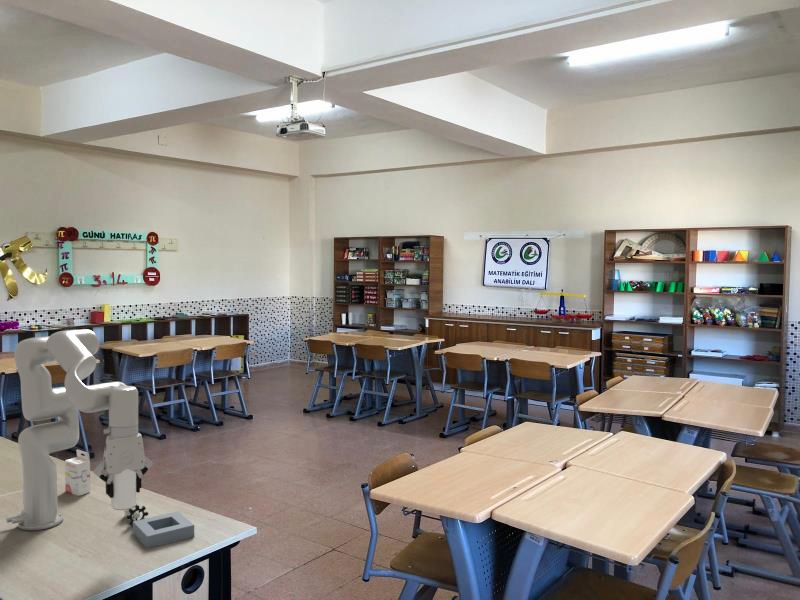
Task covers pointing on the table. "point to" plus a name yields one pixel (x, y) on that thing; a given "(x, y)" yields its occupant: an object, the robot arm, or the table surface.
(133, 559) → the table surface
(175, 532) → the socket block
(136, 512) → the valve
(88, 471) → the ink cartridge box
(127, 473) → the can
